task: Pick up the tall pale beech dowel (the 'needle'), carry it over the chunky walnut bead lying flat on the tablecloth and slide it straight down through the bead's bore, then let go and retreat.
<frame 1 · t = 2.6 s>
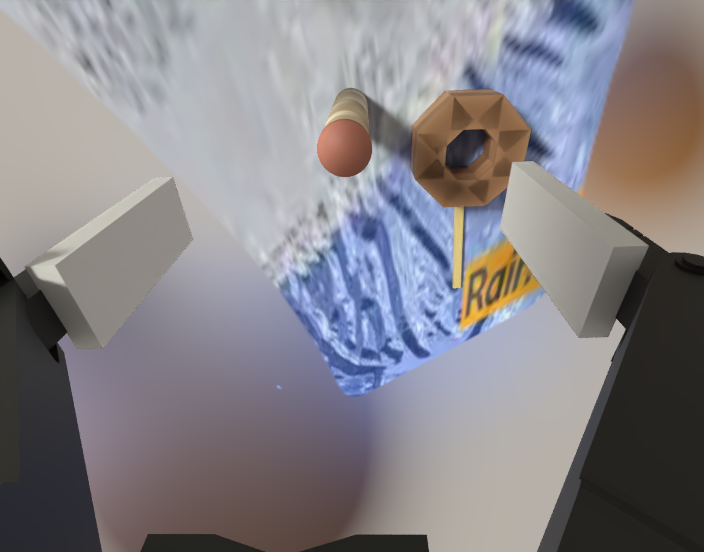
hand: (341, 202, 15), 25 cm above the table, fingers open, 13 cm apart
walnut bead: (461, 144, 37), on the table
pale yellow wooden rod: (457, 248, 44), on the table
needle dowel: (350, 106, 35), on the table
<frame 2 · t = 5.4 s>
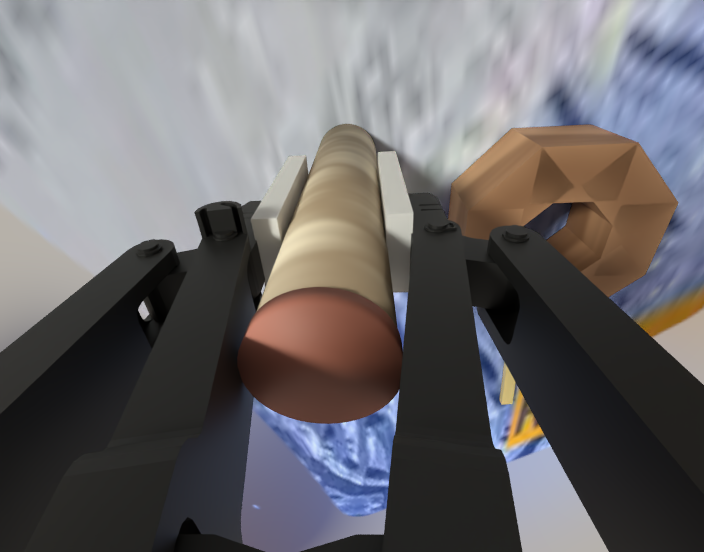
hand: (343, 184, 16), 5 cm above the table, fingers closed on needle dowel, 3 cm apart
walnut bead: (531, 213, 22), on the table
pale yellow wooden rod: (511, 354, 29), on the table
needle dowel: (347, 154, 21), on the table, touching gripper
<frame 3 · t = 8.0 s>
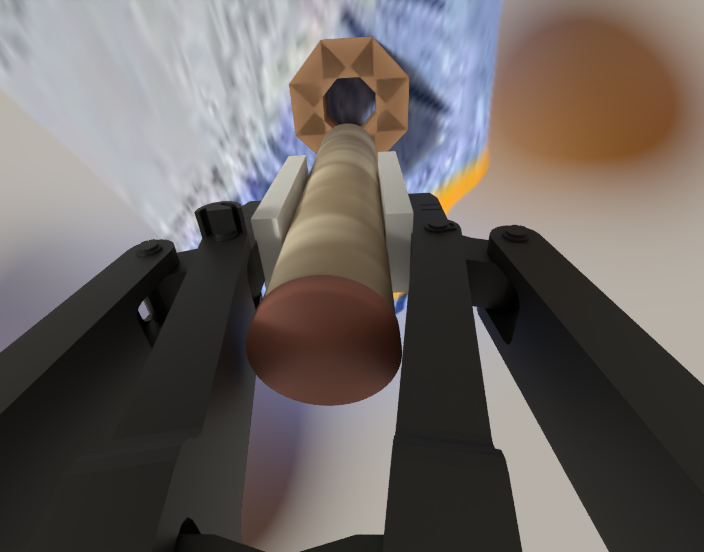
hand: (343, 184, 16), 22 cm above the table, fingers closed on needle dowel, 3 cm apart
walnut bead: (350, 100, 35), on the table
needle dowel: (347, 152, 21), point 17 cm above the table, touching gripper
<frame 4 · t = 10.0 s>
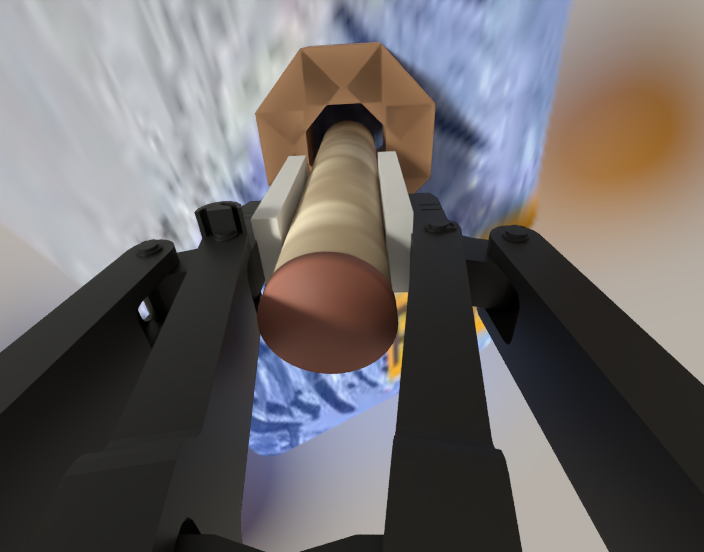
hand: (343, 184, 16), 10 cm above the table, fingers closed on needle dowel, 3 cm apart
walnut bead: (348, 131, 25), on the table
needle dowel: (348, 148, 22), point 3 cm above the table, touching gripper
when the fingers open (6 cm above the table, at t = 11.0 s): needle dowel stays where it is, resting in walnut bead.
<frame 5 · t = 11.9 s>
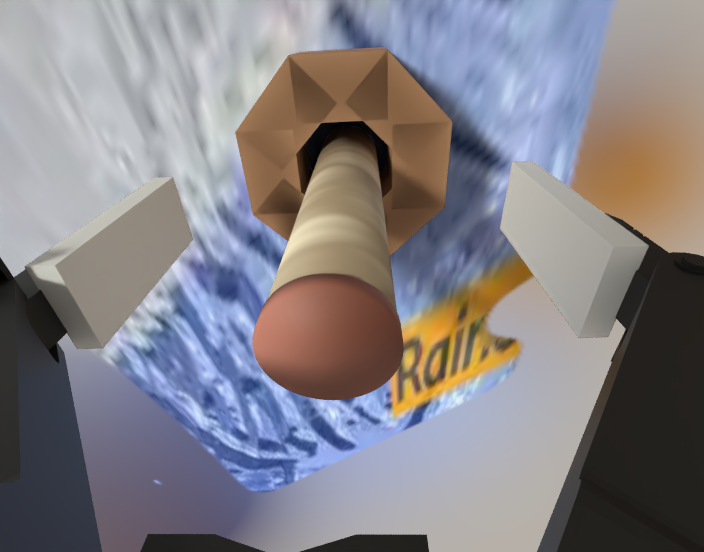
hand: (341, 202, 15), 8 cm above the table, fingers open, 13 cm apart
walnut bead: (347, 150, 21), on the table
needle dowel: (348, 154, 21), resting in walnut bead
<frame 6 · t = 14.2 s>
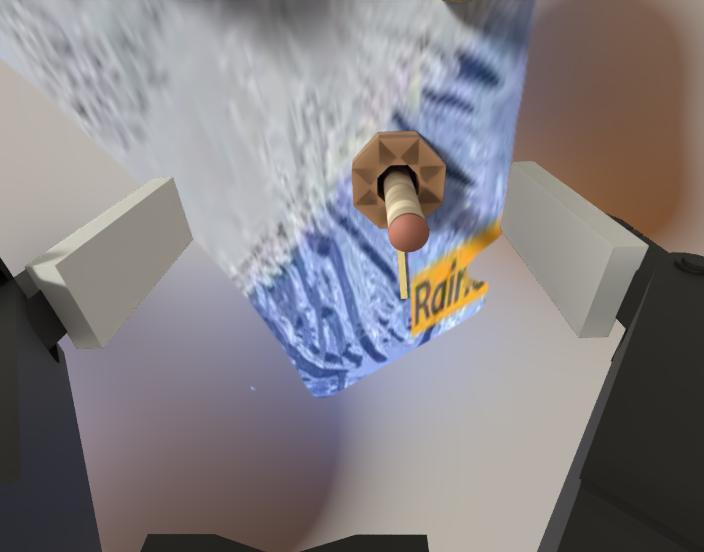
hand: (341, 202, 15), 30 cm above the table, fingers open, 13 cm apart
walnut bead: (395, 175, 44), on the table
pale yellow wooden rod: (401, 263, 50), on the table
needle dowel: (396, 177, 44), resting in walnut bead
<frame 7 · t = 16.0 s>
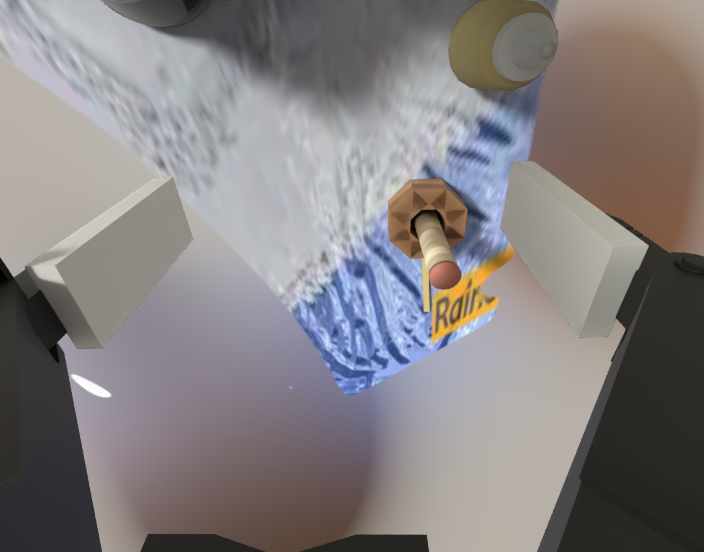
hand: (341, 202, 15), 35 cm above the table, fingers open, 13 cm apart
walnut bead: (423, 213, 52), on the table
pale yellow wooden rod: (425, 282, 58), on the table
squeeze bottle: (478, 45, 41), on the table
needle dowel: (423, 214, 52), resting in walnut bead
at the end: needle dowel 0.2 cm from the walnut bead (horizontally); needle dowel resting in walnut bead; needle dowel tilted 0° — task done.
